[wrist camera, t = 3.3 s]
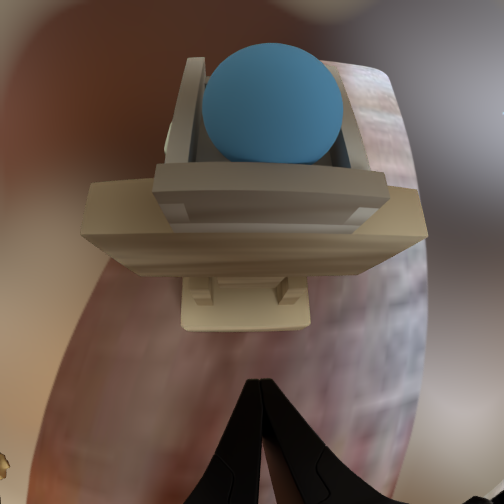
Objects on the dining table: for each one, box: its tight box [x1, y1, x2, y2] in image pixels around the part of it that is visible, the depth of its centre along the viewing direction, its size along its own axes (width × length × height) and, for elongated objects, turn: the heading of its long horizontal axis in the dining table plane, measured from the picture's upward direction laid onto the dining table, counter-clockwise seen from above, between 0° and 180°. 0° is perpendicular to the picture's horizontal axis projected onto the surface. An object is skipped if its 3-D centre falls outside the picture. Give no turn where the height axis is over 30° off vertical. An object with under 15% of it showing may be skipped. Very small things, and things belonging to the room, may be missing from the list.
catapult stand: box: [181, 276, 311, 332], centre depth 17 cm, size 5×8×6 cm, turn 92°
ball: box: [202, 43, 343, 165], centre depth 5 cm, size 3×3×3 cm
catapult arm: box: [80, 57, 428, 288], centre depth 11 cm, size 5×10×11 cm, turn 92°
